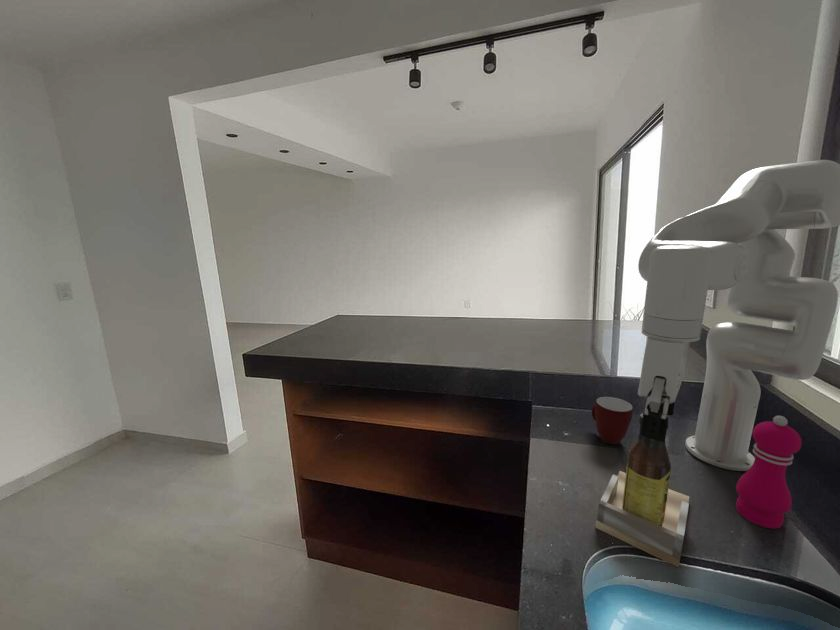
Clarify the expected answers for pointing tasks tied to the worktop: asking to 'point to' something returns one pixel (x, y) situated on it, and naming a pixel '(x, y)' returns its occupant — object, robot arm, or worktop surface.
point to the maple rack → (644, 522)
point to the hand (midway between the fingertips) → (657, 424)
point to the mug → (612, 418)
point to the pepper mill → (768, 474)
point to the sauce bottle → (647, 479)
